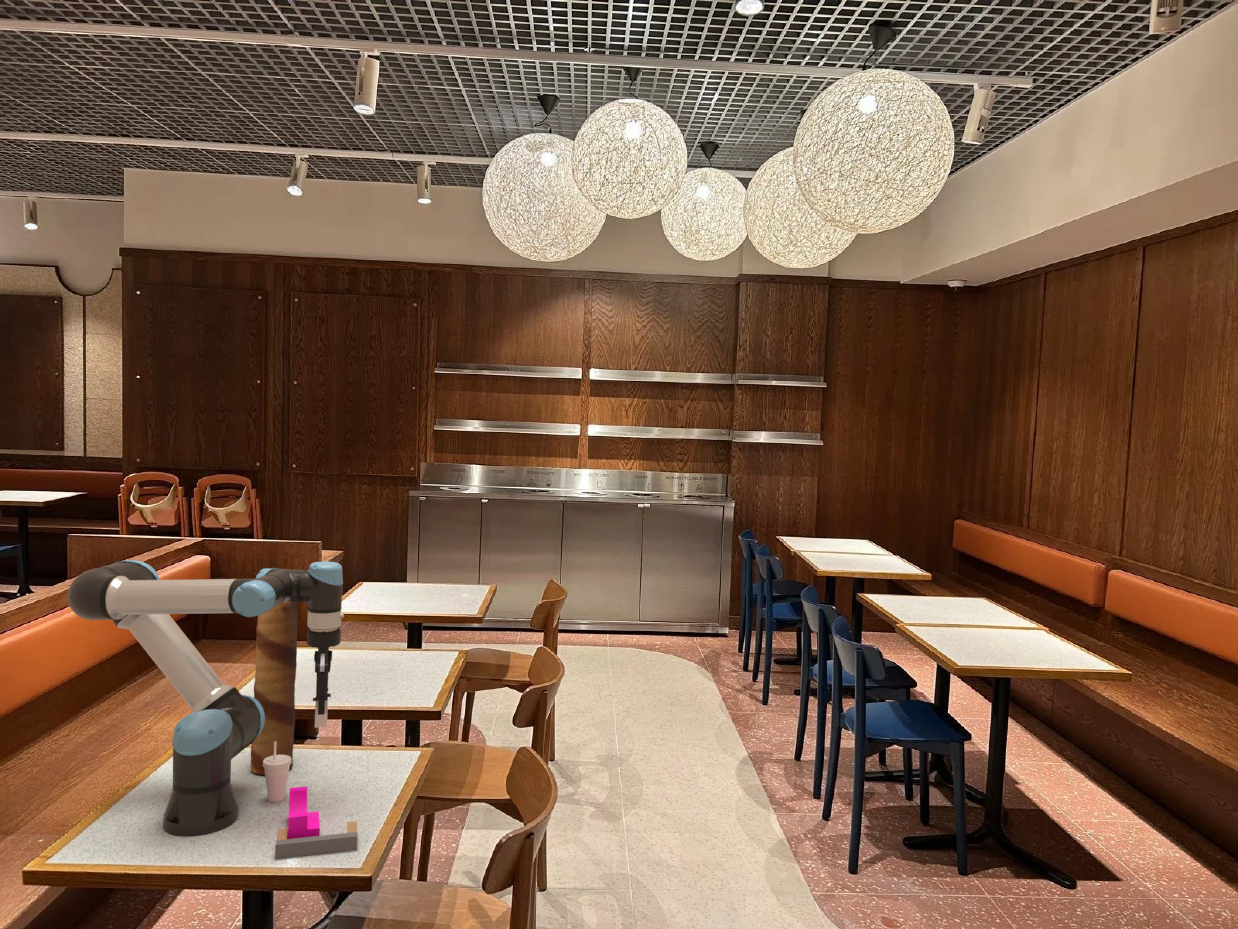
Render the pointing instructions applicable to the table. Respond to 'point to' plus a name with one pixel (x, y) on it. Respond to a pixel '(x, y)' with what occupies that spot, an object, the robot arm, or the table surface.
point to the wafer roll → (275, 683)
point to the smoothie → (276, 775)
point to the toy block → (301, 815)
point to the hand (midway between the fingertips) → (320, 726)
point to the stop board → (315, 843)
